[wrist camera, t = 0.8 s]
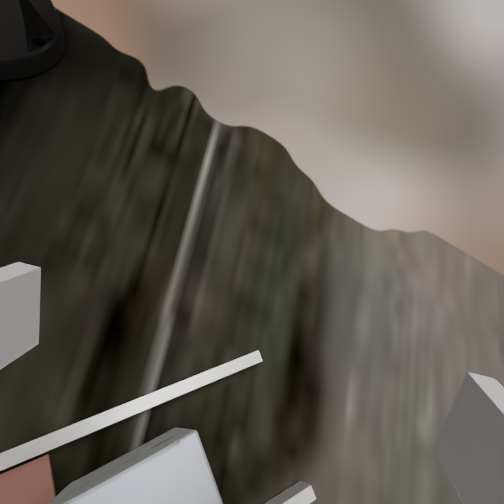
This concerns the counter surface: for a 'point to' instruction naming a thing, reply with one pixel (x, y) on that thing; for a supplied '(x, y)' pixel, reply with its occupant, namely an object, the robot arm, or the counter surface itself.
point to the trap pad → (28, 483)
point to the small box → (150, 475)
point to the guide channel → (291, 500)
